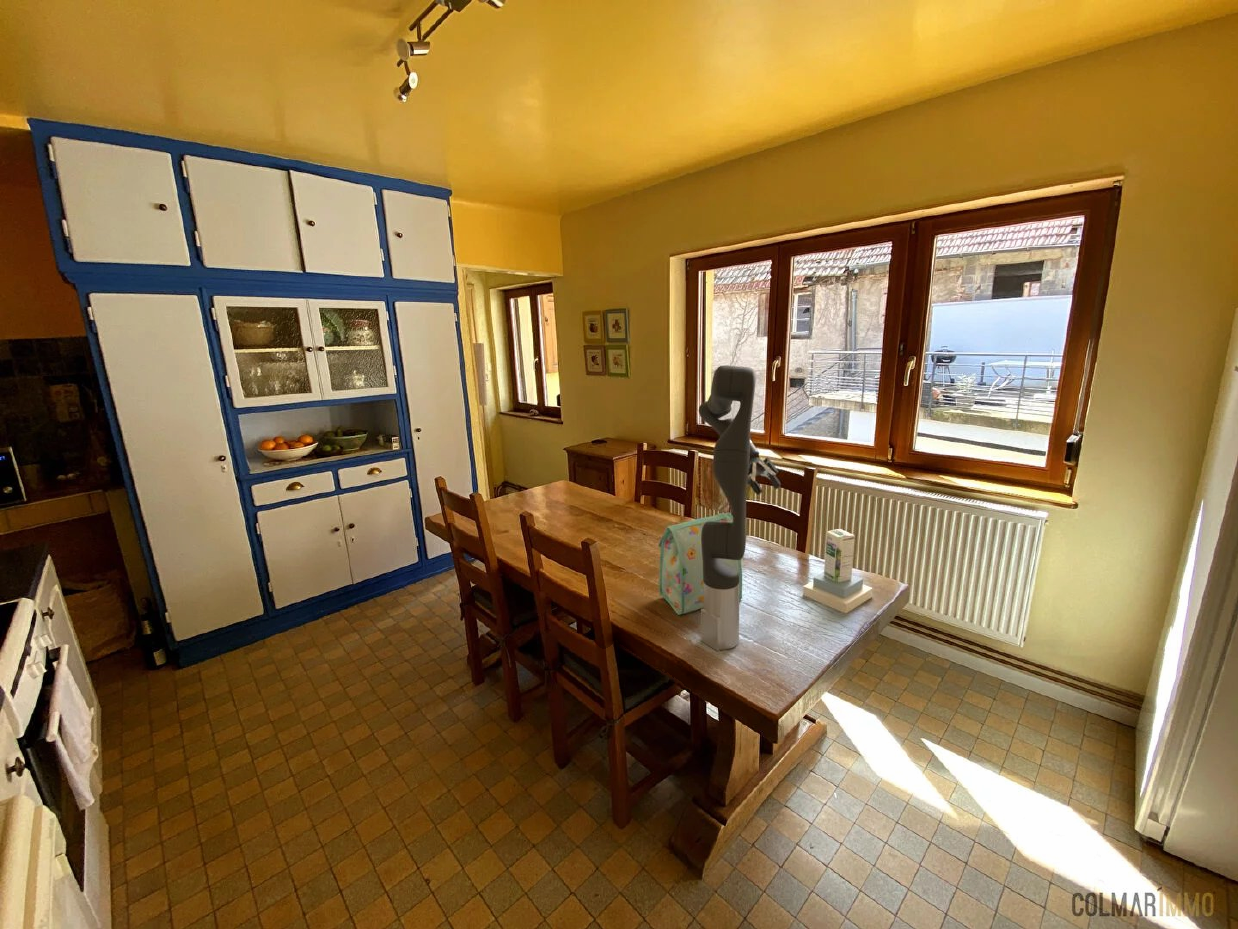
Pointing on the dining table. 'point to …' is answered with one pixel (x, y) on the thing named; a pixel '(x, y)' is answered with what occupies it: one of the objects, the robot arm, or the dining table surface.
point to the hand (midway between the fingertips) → (769, 490)
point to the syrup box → (839, 555)
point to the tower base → (837, 600)
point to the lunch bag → (687, 564)
